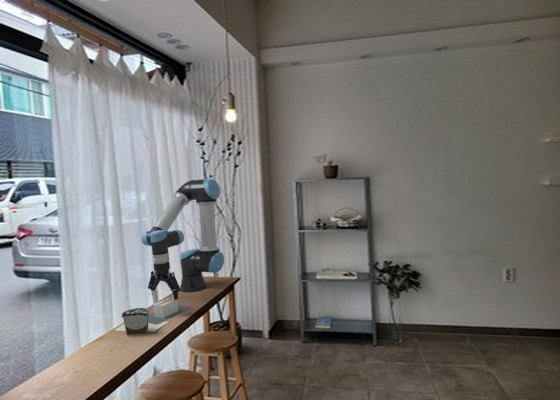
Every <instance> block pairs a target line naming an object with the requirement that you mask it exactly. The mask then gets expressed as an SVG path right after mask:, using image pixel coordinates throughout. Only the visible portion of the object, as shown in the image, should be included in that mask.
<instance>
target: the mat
mask: <svg viewBox="0 0 560 400" xmlns="http://www.w3.org/2000/svg"><path fill="white" fill-rule="evenodd" d="M178 308H179V311H177V312H175V313H173V314H171V315H169V316H167V317H165V318H160V317H154V313H152V314H150V315H149V317H148V324H150V325H151V324H152V325H159V324H162V323H163V322H165V321H168V320H170V319H171V318H174V317H177V316H178V315H180V314H182V313H184V312H186V311H188V310H190V309H192V308H193V306H192V305H191V306H189V305H183V304H178Z"/></svg>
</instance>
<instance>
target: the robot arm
mask: <svg viewBox="0 0 560 400" xmlns="http://www.w3.org/2000/svg"><path fill="white" fill-rule="evenodd" d="M219 185H220V184H219V183H218V182H217V181H216V180H215V179H213V178H205V179H204V178H202V179H192V180H188V181H186V182H185V183H183V184H182V185H181V186H180V187H179V188H178V189H177V190H176V192H174V194H173V199H172V200H171V201H170V203H169V204H168V206H166V208H165V209H164V211H163V212H162V214H161V215H160V217H159V218H158V219H157V221H156V222H155V223H154V224H153V226H152V228H151V229H150V230H148V231H144V232H143V233H142V235H141V243H142V244H143V245H144V246H149V247H151V254H152V262H153V270H152V271H150V278H149V281H148V282H149V283H148V284H147V285H148V286H147V289H149V290H150V291H151V296H152V303H153V304H155V303H158V302H160V300H159V291H158V288H157V287H158V286H159V284H160V282H163V283H166V284H167V287H168V288H169V289H170V291H171V292H172V293H171V298H172V301H173V307H175V306H177V305H179V300H178V299H179V292H183V293H184V292H185V293H193V292H194V293H195V292H197V291H202V290H205V289H206V287H207V282H206V281H205V278H204V276H203V273H210V274H211V273H219V272H220V271H222V269H223V266H224V263H225V256H224V254H223V252H221V251H220V247H219V246H218V245H217V231H216V230H217V229H216V216H215V215H216V214H215V205H216V203H217V200H218V198H220V195H221V189H220V188H221V187H220V186H219ZM191 201H192V202H193V201H195V202H196V203H195V204H196V205H198V209H199V223H200V226H199V227H200V242H201V247H200V248H193V249H188V250H185V251H183V252H181V253H180V258H179V260H180V267H181V282H180V284H179V283H178V280H177V277H176V275H175V274H176V273H175V272H174V271H172V272H170V268H171V265H170V255H169V248H172V247H175V246H179V245H181V244H182V243H183V242H184V241H185V235H184V232H183V231H182V230H180V229H175V230H171V231H170V230H169V229H170V228H171V227H172V225H173V223H174V222H175V220H176V219H177V217H179V215H180V213H181V212H182V210H183V209H184V207H185V206H187V205H188V204H190V202H191ZM153 304H152V305H153Z"/></svg>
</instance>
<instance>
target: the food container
mask: <svg viewBox="0 0 560 400" xmlns="http://www.w3.org/2000/svg"><path fill="white" fill-rule="evenodd" d="M150 315H151V314H150V311H149V309H148V308H146V307H137V308H131V309H127V310H125V311H124V312H122V313H121V318H122V319H123V323H124V330H125V334H126V336H139V335H141V336H142V335H148V334H149V323H148V317H149V316H150Z"/></svg>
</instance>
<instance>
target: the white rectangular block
mask: <svg viewBox="0 0 560 400" xmlns="http://www.w3.org/2000/svg"><path fill="white" fill-rule="evenodd" d="M178 305H179V304H178ZM178 305H177V306H175V307H173V301H172V297H167V298H165V299H163V300H159V302H157V303H155V304H152V308H153V309H152V310H153V314H154V317H160V318H165V317H167V316H169V315H171V314H173V313H175V312H177V311H179V308H178Z"/></svg>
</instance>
